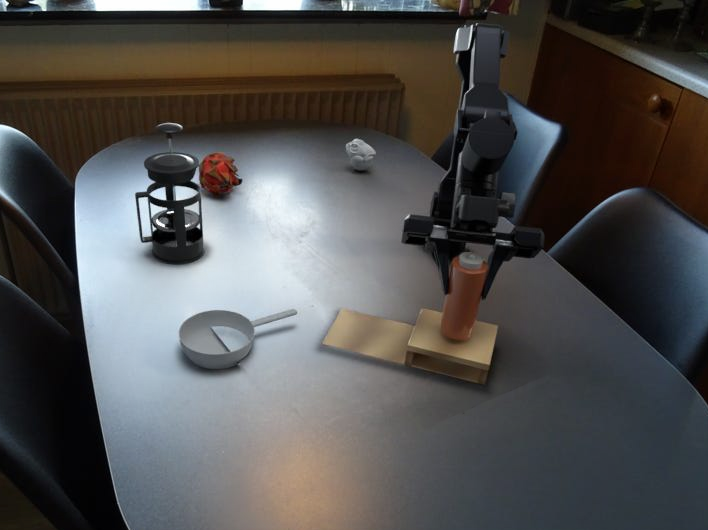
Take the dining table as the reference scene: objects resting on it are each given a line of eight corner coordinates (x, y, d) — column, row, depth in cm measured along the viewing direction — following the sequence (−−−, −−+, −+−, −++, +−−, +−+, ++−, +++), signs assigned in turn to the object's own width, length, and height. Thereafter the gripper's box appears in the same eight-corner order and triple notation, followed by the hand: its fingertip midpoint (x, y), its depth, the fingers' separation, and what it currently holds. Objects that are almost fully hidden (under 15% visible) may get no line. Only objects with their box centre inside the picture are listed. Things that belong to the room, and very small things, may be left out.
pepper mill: (448, 316, 99) (463, 241, 92) (478, 328, 97) (496, 253, 90) (433, 331, 96) (447, 255, 89) (463, 344, 94) (481, 267, 87)
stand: (321, 348, 100) (323, 324, 98) (341, 313, 108) (343, 289, 105) (483, 389, 94) (489, 364, 92) (492, 349, 102) (498, 325, 100)
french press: (202, 235, 126) (196, 114, 113) (213, 260, 119) (208, 133, 106) (138, 243, 123) (124, 118, 110) (145, 269, 116) (131, 139, 102)
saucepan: (170, 338, 100) (168, 317, 98) (281, 312, 107) (281, 291, 105) (194, 382, 92) (192, 360, 90) (311, 350, 100) (312, 329, 97)
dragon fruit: (214, 184, 149) (229, 215, 141) (183, 167, 143) (196, 198, 136) (237, 154, 146) (253, 184, 138) (206, 136, 140) (221, 165, 133)
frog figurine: (345, 162, 159) (347, 134, 155) (375, 166, 159) (378, 137, 155) (342, 172, 154) (345, 143, 150) (373, 176, 154) (376, 146, 150)
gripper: (413, 158, 87) (399, 275, 85) (560, 173, 86) (550, 292, 83) (407, 189, 98) (394, 293, 96) (537, 203, 97) (528, 309, 94)
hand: (464, 297), depth 92 cm, fingers closed on pepper mill, 5 cm apart
